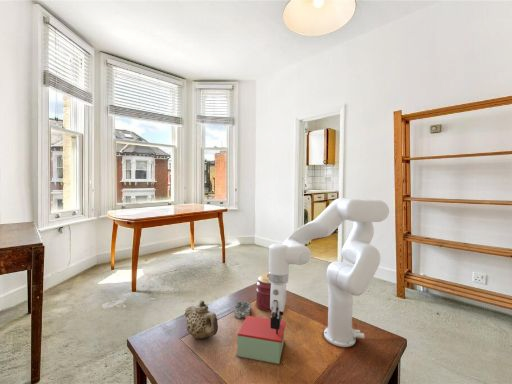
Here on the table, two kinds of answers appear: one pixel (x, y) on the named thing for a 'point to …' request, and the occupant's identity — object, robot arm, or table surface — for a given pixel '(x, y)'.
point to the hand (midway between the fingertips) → (277, 321)
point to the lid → (262, 329)
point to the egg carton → (242, 309)
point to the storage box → (260, 349)
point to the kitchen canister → (263, 292)
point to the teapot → (201, 321)
